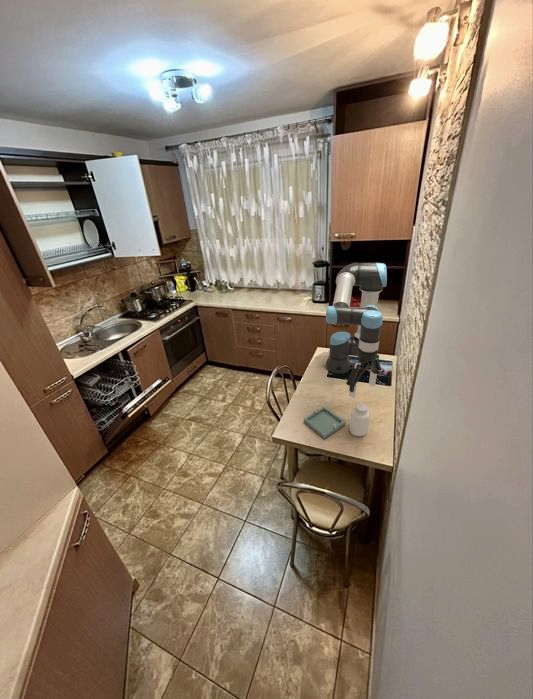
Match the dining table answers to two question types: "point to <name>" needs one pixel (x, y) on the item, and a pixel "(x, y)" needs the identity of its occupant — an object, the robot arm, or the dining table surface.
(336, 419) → the tray
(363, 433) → the pill bottle
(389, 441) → the dining table surface
